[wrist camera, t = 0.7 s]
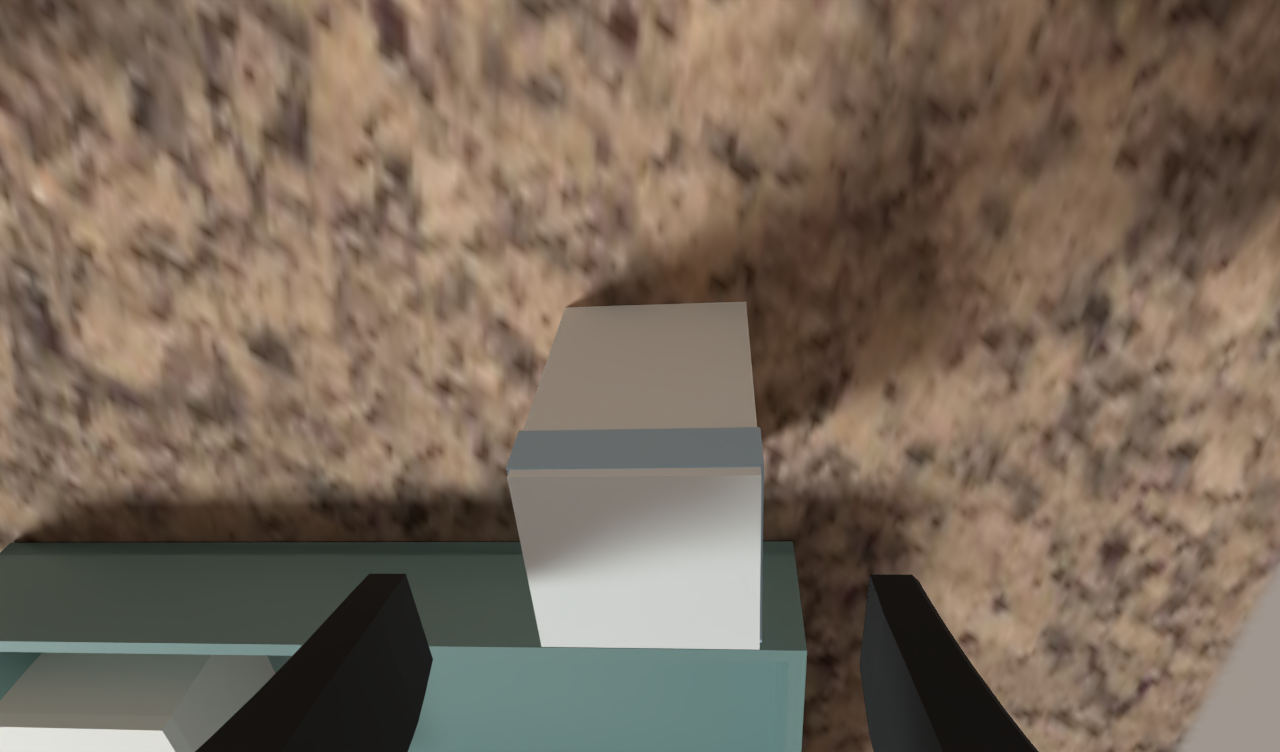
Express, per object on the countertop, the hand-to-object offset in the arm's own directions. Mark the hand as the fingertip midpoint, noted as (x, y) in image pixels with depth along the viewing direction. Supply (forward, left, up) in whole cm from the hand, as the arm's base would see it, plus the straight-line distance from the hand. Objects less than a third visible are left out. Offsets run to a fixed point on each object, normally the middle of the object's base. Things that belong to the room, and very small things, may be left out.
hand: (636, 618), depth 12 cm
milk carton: (0, 0, -7) cm, 7 cm away
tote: (-11, +8, -7) cm, 15 cm away
